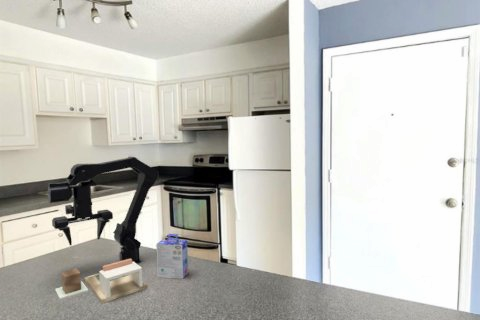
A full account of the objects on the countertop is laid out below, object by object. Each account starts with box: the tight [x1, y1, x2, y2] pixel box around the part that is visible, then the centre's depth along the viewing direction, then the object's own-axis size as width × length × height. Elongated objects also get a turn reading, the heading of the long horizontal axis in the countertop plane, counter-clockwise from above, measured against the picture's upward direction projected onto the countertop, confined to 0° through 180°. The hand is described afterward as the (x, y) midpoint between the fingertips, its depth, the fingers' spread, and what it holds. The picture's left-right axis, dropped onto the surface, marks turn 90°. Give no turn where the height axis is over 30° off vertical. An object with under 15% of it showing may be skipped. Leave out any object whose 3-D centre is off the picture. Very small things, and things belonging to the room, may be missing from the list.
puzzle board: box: [83, 272, 148, 304], centre depth 103 cm, size 14×20×1 cm
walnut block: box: [61, 268, 82, 294], centre depth 99 cm, size 4×4×6 cm
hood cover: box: [98, 258, 144, 298], centre depth 98 cm, size 11×7×7 cm, turn 130°
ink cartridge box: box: [155, 233, 189, 279], centre depth 109 cm, size 10×6×14 cm, turn 81°
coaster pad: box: [54, 280, 89, 300], centre depth 99 cm, size 8×8×1 cm
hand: (84, 242), depth 110 cm, fingers open, 9 cm apart
